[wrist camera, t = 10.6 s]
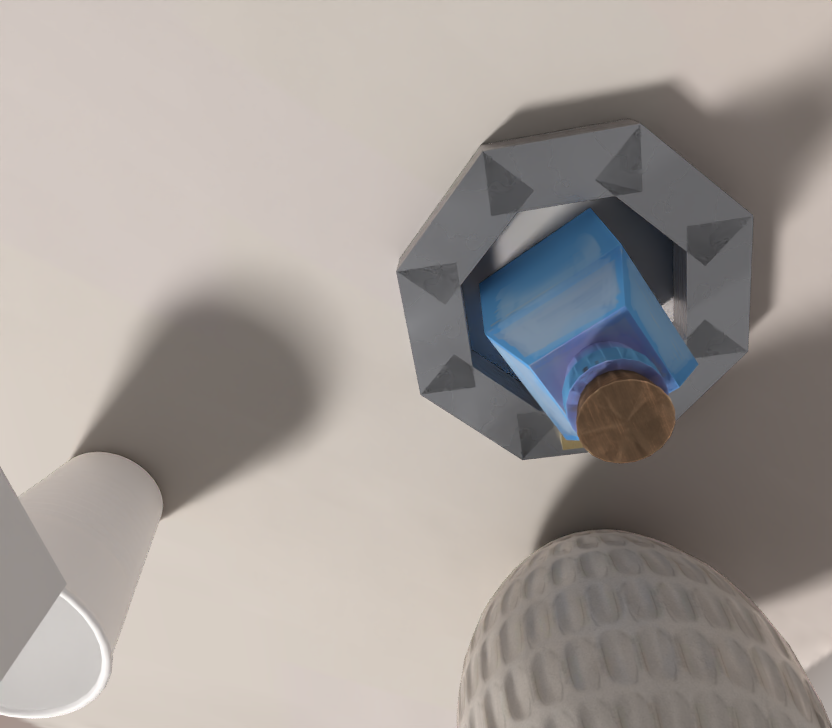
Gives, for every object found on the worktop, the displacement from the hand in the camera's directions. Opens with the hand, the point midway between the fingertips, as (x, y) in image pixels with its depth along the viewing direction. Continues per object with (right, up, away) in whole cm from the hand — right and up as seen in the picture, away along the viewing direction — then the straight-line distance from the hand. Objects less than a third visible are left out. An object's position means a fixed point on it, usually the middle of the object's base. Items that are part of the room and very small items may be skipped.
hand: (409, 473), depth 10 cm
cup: (-18, -6, +29) cm, 34 cm away
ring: (+7, +5, +22) cm, 24 cm away
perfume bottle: (+7, +5, +22) cm, 24 cm away
